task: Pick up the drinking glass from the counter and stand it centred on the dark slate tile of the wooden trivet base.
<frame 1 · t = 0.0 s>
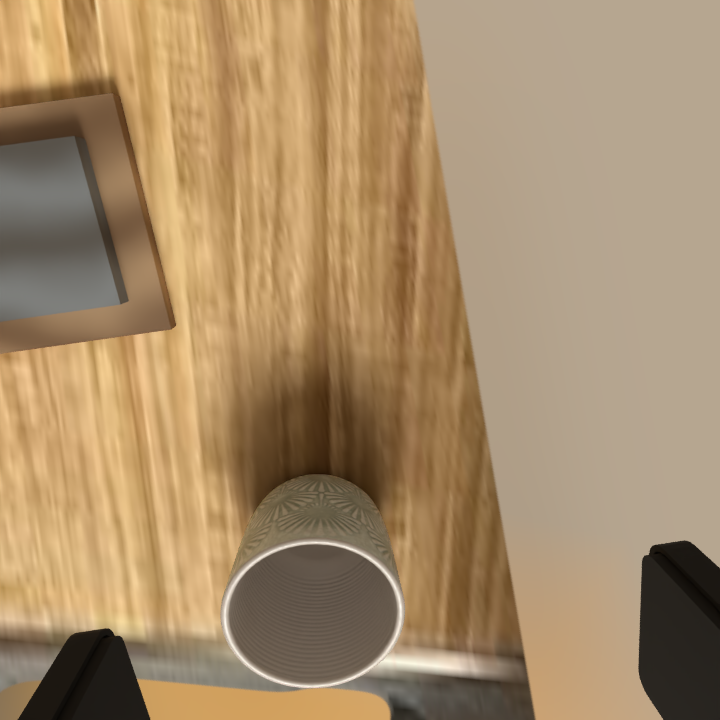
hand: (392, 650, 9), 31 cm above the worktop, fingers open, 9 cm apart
trivet base: (39, 234, 36), on the worktop
planter: (317, 520, 44), on the worktop
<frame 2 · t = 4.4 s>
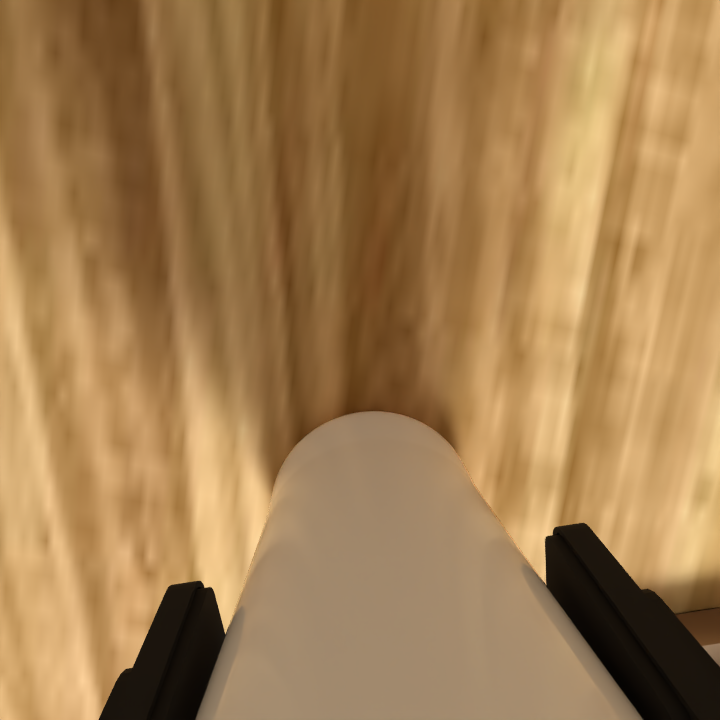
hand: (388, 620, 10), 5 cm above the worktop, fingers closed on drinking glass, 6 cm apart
drinking glass: (369, 487, 14), on the worktop, touching gripper
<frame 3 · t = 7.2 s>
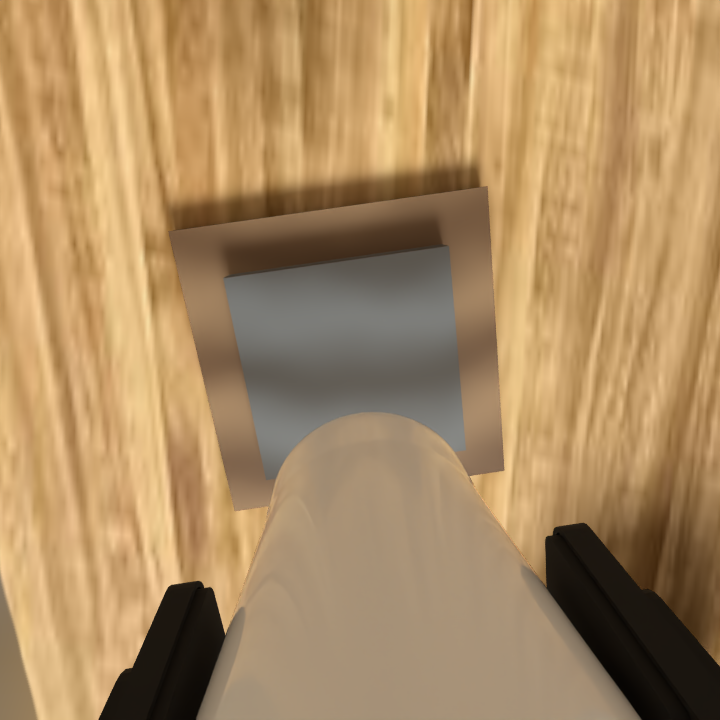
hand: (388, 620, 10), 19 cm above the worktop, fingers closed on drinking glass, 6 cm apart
drinking glass: (369, 488, 14), point 15 cm above the worktop, touching gripper
trivet base: (350, 355, 28), on the worktop
when the fingers open (8 cm above the worktop, at t = 10.1 s): drinking glass stays where it is, resting on trivet base.
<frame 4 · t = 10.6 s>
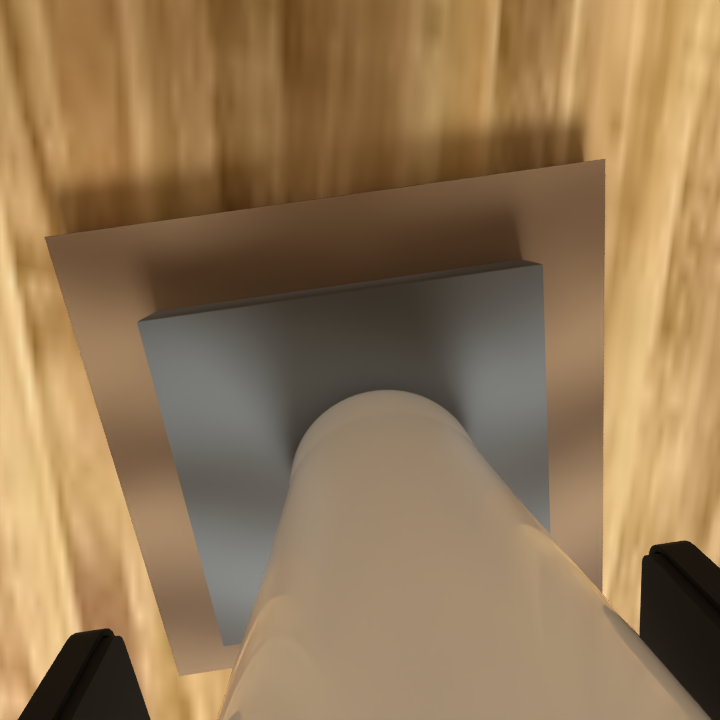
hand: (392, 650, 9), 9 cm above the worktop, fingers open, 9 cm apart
drinking glass: (381, 463, 15), point 3 cm above the worktop, touching trivet base
trivet base: (362, 435, 18), on the worktop
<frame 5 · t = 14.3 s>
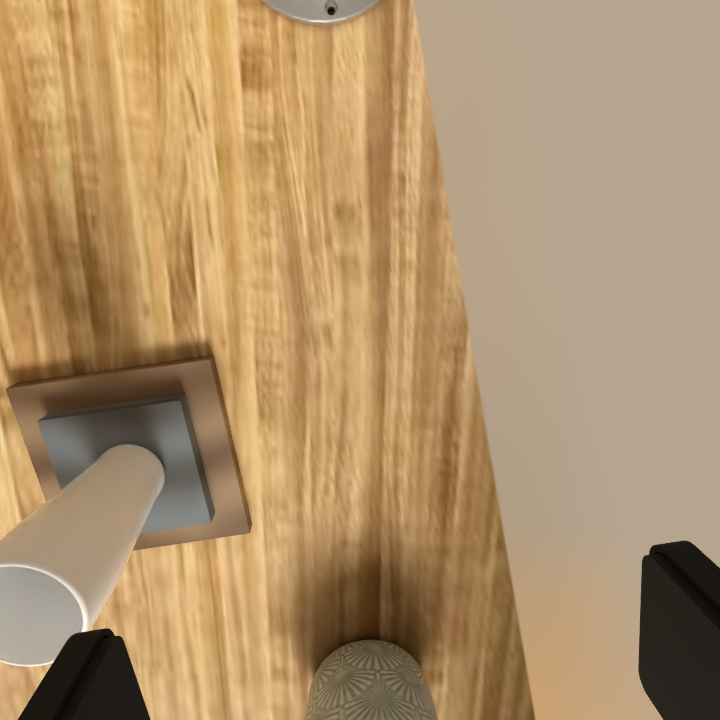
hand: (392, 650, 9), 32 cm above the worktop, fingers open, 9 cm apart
drinking glass: (134, 470, 40), point 3 cm above the worktop, touching trivet base
trivet base: (140, 458, 42), on the worktop
planter: (366, 671, 51), on the worktop
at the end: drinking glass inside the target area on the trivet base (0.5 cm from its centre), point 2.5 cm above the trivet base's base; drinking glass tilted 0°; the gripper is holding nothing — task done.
